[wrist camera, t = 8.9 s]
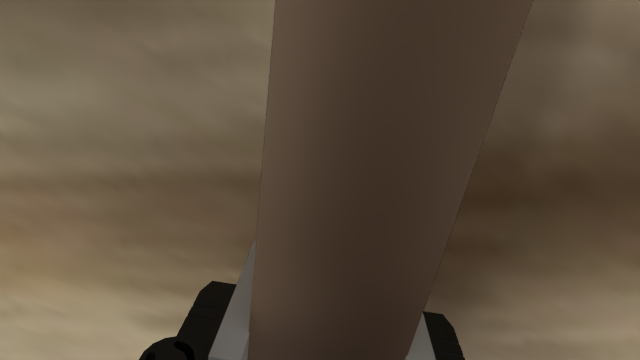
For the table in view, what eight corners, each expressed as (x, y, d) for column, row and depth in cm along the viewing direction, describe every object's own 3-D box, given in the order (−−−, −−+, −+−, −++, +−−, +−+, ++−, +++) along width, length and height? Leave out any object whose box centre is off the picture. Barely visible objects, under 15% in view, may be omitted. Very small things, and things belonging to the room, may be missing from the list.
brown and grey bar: (258, 439, 21) (227, 590, 15) (334, -212, 9) (321, -573, 4) (325, 449, 21) (319, 604, 15) (488, -187, 9) (710, -507, 4)
